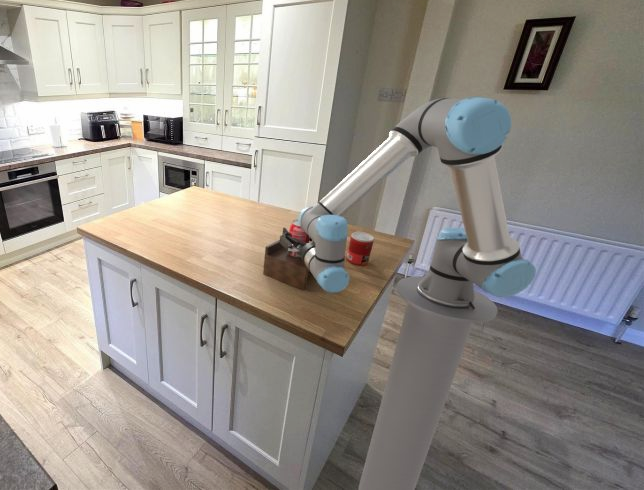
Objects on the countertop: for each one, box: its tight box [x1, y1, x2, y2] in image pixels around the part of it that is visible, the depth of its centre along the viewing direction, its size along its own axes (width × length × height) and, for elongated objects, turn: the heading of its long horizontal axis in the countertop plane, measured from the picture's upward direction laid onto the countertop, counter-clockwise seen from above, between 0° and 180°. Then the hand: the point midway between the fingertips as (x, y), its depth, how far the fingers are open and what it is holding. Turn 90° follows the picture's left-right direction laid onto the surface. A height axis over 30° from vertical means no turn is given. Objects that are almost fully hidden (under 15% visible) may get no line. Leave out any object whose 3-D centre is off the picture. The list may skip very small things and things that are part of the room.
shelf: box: [262, 239, 310, 291], centre depth 124 cm, size 16×16×11 cm
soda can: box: [287, 219, 310, 257], centre depth 121 cm, size 7×7×12 cm
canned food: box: [346, 231, 375, 267], centre depth 134 cm, size 8×8×11 cm
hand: (294, 231), depth 125 cm, fingers open, 7 cm apart
